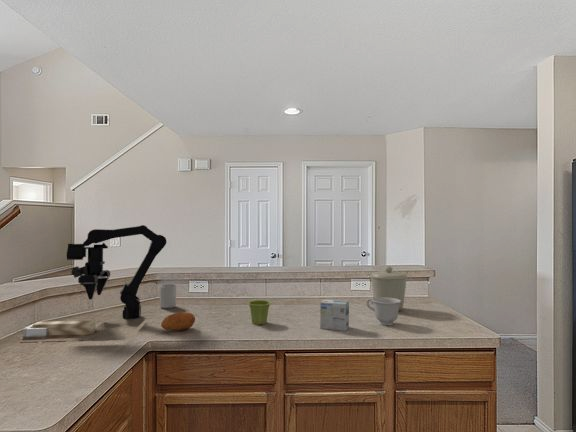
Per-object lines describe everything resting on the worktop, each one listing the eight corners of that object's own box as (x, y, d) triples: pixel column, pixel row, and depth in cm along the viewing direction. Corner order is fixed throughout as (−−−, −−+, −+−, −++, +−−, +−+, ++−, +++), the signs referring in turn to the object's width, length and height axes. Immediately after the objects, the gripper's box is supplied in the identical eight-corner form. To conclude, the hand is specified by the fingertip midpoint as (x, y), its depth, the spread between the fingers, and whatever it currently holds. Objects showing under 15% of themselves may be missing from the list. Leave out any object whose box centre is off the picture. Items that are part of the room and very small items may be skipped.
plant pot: (274, 321, 165) (274, 301, 166) (263, 327, 157) (264, 305, 157) (255, 319, 169) (255, 299, 169) (244, 324, 161) (244, 303, 161)
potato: (196, 331, 151) (196, 312, 151) (161, 334, 146) (162, 315, 146) (193, 326, 157) (193, 308, 157) (160, 329, 152) (160, 311, 153)
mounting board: (104, 325, 158) (104, 321, 158) (83, 341, 137) (83, 336, 137) (50, 326, 156) (50, 322, 156) (19, 342, 135) (19, 338, 135)
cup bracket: (56, 330, 145) (56, 322, 145) (45, 337, 137) (46, 328, 137) (34, 331, 144) (34, 323, 144) (22, 337, 136) (22, 329, 136)
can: (171, 309, 188) (171, 284, 188) (157, 308, 189) (157, 283, 189) (178, 306, 195) (178, 282, 195) (164, 305, 196) (165, 281, 197)
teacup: (372, 317, 173) (372, 295, 173) (405, 323, 164) (405, 299, 165) (360, 323, 163) (360, 299, 163) (395, 329, 155) (395, 304, 155)
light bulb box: (349, 327, 158) (349, 300, 158) (346, 331, 152) (346, 303, 152) (323, 324, 161) (323, 298, 162) (319, 328, 155) (319, 301, 155)
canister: (412, 308, 193) (412, 265, 193) (401, 315, 178) (401, 269, 178) (377, 303, 203) (377, 263, 203) (364, 310, 187) (364, 266, 188)
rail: (95, 331, 144) (95, 320, 145) (91, 334, 140) (91, 323, 141) (38, 332, 142) (38, 321, 142) (32, 335, 138) (32, 324, 138)
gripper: (84, 257, 169) (83, 293, 169) (64, 261, 151) (63, 302, 151) (110, 257, 171) (110, 292, 170) (94, 261, 152) (93, 301, 152)
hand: (94, 297), depth 161 cm, fingers open, 9 cm apart
